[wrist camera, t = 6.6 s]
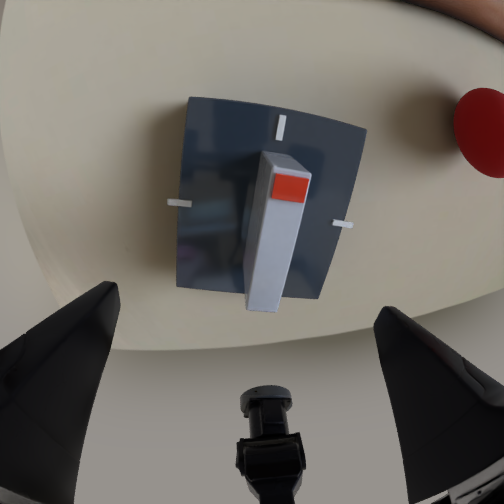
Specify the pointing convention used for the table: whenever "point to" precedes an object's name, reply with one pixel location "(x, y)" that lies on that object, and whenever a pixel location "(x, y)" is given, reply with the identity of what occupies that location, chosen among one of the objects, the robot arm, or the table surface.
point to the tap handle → (273, 229)
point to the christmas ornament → (481, 130)
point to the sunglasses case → (471, 13)
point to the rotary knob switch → (243, 188)
